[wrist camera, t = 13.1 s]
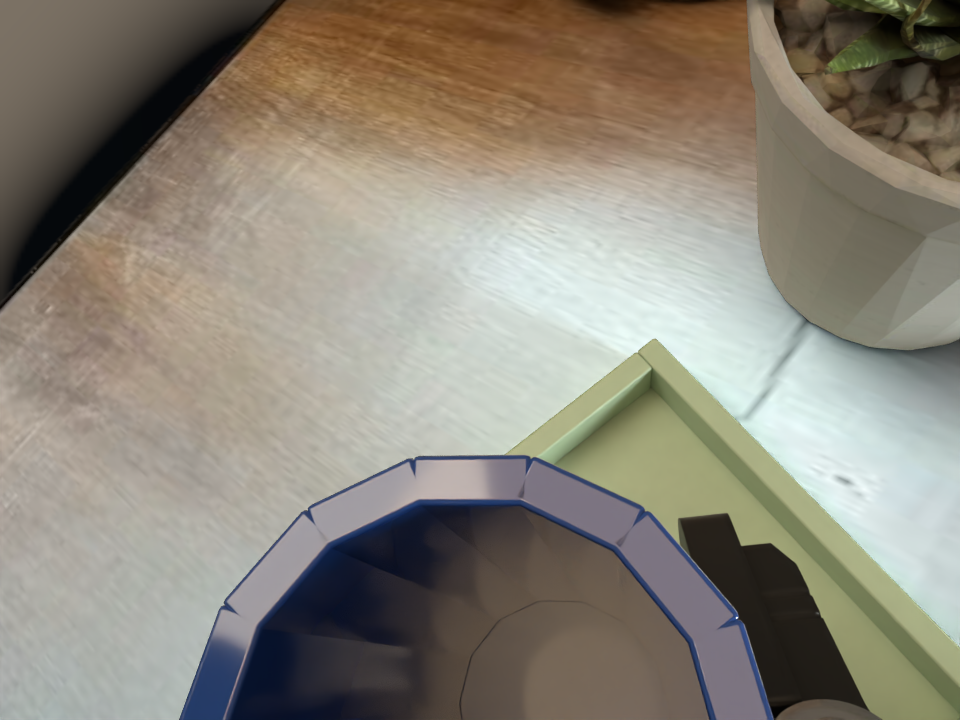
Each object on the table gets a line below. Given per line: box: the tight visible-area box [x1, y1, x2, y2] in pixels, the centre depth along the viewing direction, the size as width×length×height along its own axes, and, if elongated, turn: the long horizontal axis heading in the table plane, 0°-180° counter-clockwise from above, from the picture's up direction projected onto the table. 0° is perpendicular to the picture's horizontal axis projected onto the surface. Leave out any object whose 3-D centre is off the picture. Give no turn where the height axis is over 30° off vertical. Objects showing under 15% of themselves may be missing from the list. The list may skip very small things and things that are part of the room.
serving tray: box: [505, 339, 960, 720], centre depth 23 cm, size 18×15×3 cm
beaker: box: [179, 455, 774, 720], centre depth 10 cm, size 5×5×10 cm
